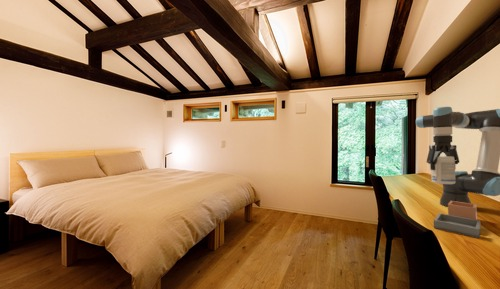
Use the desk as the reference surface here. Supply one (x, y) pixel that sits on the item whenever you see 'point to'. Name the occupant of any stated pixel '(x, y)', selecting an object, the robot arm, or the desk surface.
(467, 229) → the gray tray
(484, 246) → the desk surface
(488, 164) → the robot arm
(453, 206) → the terracotta bin
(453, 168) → the supplement tub
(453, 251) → the desk surface
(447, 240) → the desk surface
